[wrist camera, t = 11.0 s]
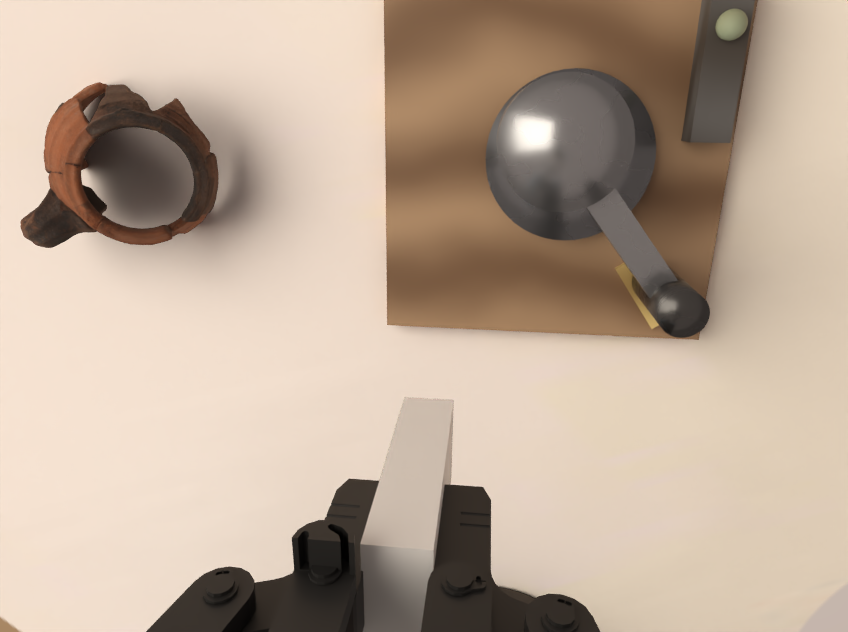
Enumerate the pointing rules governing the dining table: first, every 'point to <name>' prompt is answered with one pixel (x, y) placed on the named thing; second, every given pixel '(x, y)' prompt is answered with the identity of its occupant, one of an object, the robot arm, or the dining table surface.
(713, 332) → the dining table surface
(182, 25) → the dining table surface
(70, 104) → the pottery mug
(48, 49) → the dining table surface
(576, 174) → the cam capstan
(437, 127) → the stand board
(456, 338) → the dining table surface
